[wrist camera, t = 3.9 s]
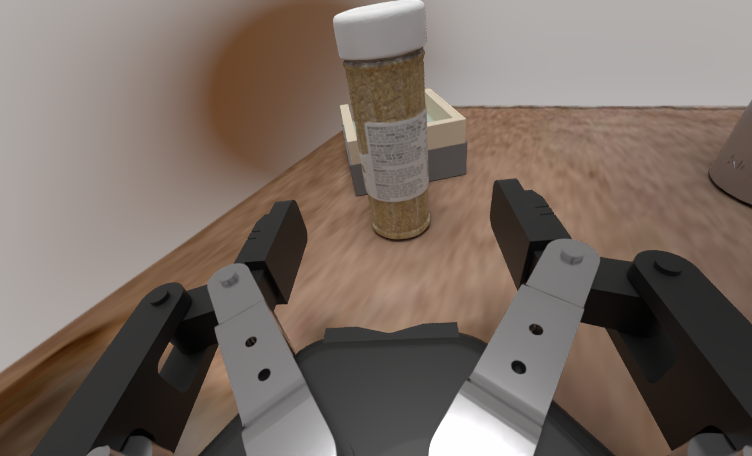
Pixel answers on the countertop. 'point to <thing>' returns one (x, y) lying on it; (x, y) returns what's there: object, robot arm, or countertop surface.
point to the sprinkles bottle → (389, 110)
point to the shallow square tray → (441, 137)
